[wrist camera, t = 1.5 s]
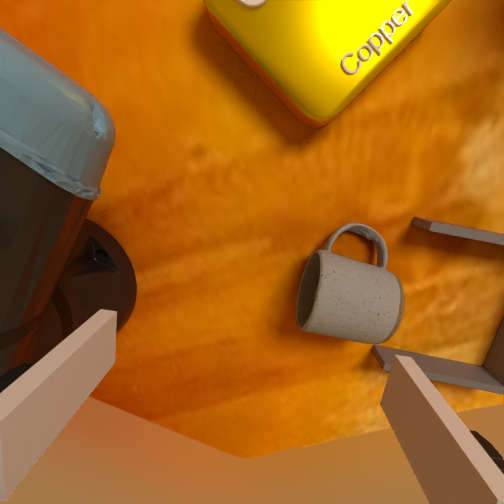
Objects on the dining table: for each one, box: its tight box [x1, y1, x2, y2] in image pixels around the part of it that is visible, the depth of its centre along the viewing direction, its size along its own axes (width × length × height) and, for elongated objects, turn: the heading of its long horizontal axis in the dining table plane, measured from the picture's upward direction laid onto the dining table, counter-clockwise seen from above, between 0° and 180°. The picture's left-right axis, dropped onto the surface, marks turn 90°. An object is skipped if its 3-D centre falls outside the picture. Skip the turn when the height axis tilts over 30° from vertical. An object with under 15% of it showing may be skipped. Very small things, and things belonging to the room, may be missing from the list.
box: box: [372, 217, 504, 395], centre depth 31 cm, size 13×15×4 cm
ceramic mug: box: [296, 223, 405, 344], centre depth 29 cm, size 11×8×8 cm
